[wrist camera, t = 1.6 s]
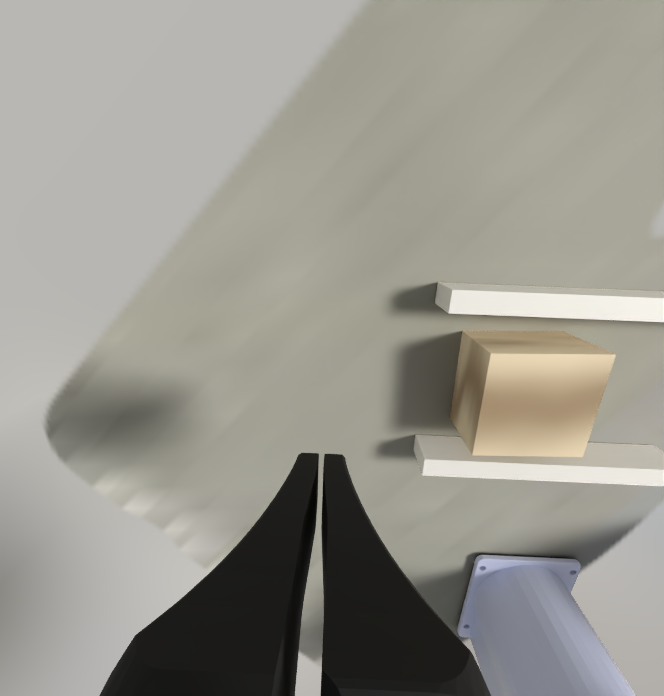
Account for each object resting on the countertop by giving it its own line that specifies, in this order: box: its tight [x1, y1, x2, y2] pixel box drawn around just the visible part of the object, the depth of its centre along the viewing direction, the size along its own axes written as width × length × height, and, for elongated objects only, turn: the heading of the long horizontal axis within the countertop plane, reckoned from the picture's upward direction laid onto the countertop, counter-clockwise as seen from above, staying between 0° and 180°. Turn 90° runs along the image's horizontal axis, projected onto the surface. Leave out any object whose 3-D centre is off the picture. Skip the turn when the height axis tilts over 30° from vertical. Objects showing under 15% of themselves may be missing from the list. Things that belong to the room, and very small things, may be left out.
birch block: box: [450, 331, 616, 457], centre depth 19 cm, size 6×6×4 cm
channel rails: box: [413, 282, 664, 486], centre depth 19 cm, size 11×16×2 cm
